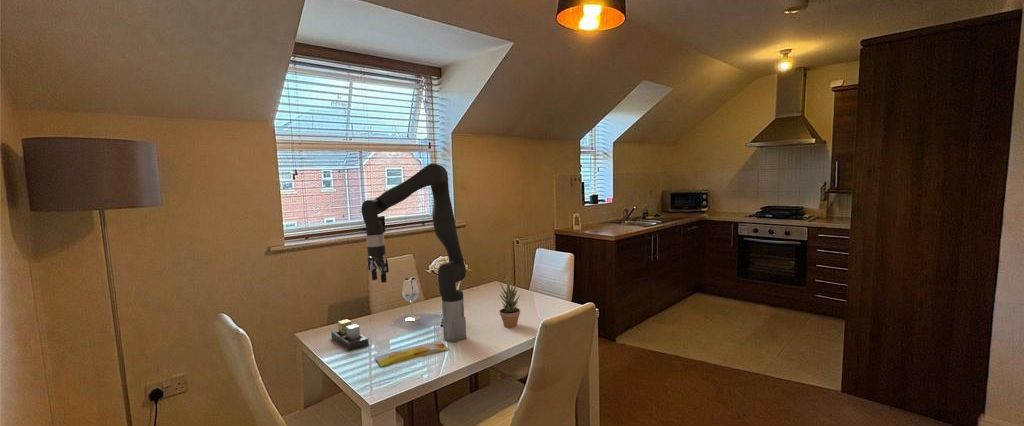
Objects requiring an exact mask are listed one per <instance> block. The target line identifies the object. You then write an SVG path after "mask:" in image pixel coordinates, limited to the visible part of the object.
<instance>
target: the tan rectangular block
mask: <svg viewBox="0 0 1024 426" xmlns="http://www.w3.org/2000/svg"><path fill="white" fill-rule="evenodd" d="M350 325H352V322H351V320H349V319H343V320H338V321H337V326H338V330H339V335H340V336H343V335H347V332H346V326H350Z"/></svg>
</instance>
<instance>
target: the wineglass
mask: <svg viewBox="0 0 1024 426" xmlns="http://www.w3.org/2000/svg"><path fill="white" fill-rule="evenodd" d="M419 295H420V291H419V285H418V281H417V278H416V277H406V278H404V279H403V285H402V297H403V298H404V300H405V301H406V302H408V303H409V304H410V316H406V317H405V318H404V321H405V322H414V321H418V320H420V318H421V316H420V315H414V313H413V302H415V301H416V300H417V299H418V298H419Z"/></svg>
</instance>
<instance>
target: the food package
mask: <svg viewBox="0 0 1024 426" xmlns="http://www.w3.org/2000/svg"><path fill="white" fill-rule="evenodd" d="M449 349H450V348H449V347H448V346H447V345H446V344H444V342H442V341H440V340H439V341H433V342H427V343H422V344H417V345H415V346H410V347H406V348H402V349H397V350H393V351H390V352H387V353H384V354H380V355H377V356H374V359H375V360H376V361H377V362H376V363H378V365H379V366H380V367H385V366H386V367H387V366H390V365H393V364H397V363H400V362H405V361H408V360H412V359H416V358H420V357H425V356H427V355H432V354H433V355H434V354H436V353H440V352H444V351H448V350H449Z"/></svg>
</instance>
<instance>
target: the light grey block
mask: <svg viewBox="0 0 1024 426" xmlns="http://www.w3.org/2000/svg"><path fill="white" fill-rule="evenodd" d="M360 329H361V328H360V326H359V325H358V324H356V323H354V324H351V325H350V326H346V332H347V341H349V342H350V341H354V340H357V339H360V334H361V333H360Z"/></svg>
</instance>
